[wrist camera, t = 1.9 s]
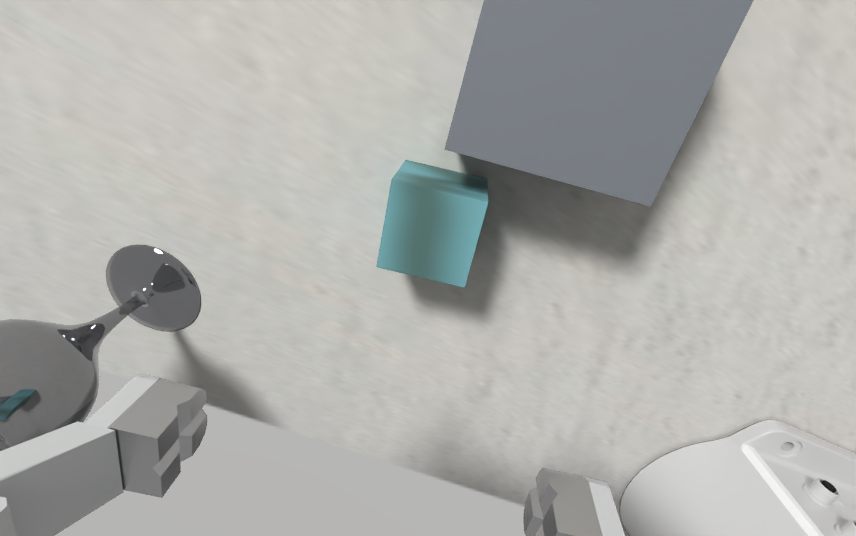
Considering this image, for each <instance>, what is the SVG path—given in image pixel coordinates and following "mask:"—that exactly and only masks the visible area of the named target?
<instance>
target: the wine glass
mask: <svg viewBox="0 0 856 536" xmlns="http://www.w3.org/2000/svg"><path fill="white" fill-rule="evenodd" d="M106 280H107V285H108V288H109V291H110V293H111V295H112V297H113V299H114V300H115V302H116V303H117V305H118V306H119V307H118V308H116V309H114V310H113V311H111V312H109V313H107V314H105V315H103V316H101V317H99V318H97V319H95V320H92V321H90V322H87V323H83V324H77V325H63V324H56V323H49V322H43V321H36V320H21V319H9V320H0V451H2V450H5V449H8V448H10V447H13V446H15V445H18V444H21V443H23V442H26V441H28V440H31V439H33V438H36V437H39V436H41V435H44V434H46V433H49V432H52V431H54V430H57V429H59V428H62V427H64V426H67V425H70V424H72V423H75V422H77V421H78V422H83V421H84V420H85V418H86V417H87V415H88V414H89V412H90V411H91V409H92V407H93V405H94V403H95V400H96V397H97V393H98V386H99V364H98V354H99V348H100V346H101V343H102V341H103V340H104V338H105V337H106V336H107V335H108V334H109V333H110V332H111V330H112V329H113V328H114V327H115V326H117V325H118V324H119V323H120V322H121V321H122V320H123V319H124V318H125V317H127V316H129V317H131V318H132V319H134V320H135V321H137V322H138V323H140V324H142V325H144V326H146V327H149V328H152V329H156V330H160V331H175V330H179V329H183V328H185V327H186V326H188V325H190V324H191V323H192V322H193V321H194V320H195V319H196V317H197V315H198V313H199V311H200V305H201V297H200V292H199V288H198V286H197V284H196V281H195V280H194V278H193V276H192V275H191V273H190V272H189V271H188V269H187V268H186V267H185V266H184V265H183V264H182V263H181V262H180V261H179V260H177V259H176V258H175V257H173V256H172V255H170V254H168V253H167V252H165V251H163V250H160V249H158V248H155V247H151V246H147V245H131V246H127V247H124V248H122V249H120V250H118V251H117V252H116V253H115V254H114V255H113V256H112V257H111V259H110V260H109V262H108V265H107V269H106Z"/></svg>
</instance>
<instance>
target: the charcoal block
mask: <svg viewBox="0 0 856 536" xmlns="http://www.w3.org/2000/svg"><path fill="white" fill-rule="evenodd" d="M752 2H753V0H484V2H483V6H482V10H481V14H480V18H479V21H478V25H477V29H476V33H475V36H474V40H473V44H472V48H471V52H470V55H469V59H468V63H467V67H466V71H465V74H464V78H463V82H462V86H461V89H460V93H459V97H458V101H457V105H456V108H455V112H454V116H453V120H452V123H451V127H450V131H449V135H448V139H447V142H446V146H445V150H448V151H452V152H456V153H459V154H463V155H466V156H470V157H474V158H477V159H481V160H484V161H488V162H492V163H495V164H499V165H502V166H506V167H510V168H513V169H517V170H520V171H524V172H528V173H531V174H535V175H538V176H542V177H546V178H549V179H553V180H557V181H560V182H564V183H567V184H571V185H575V186H578V187H582V188H585V189H589V190H593V191H596V192H600V193H603V194H607V195H611V196H614V197H618V198H621V199H625V200H629V201H632V202H636V203H639V204H643V205H647V206H650V207H651V205H652V203H653V201H654V199H655V197H656V195H657V193H658V191H659V189H660V187H661V185H662V183H663V181H664V179H665V177H666V175H667V173H668V171H669V169H670V167H671V165H672V163H673V161H674V159H675V157H676V155H677V153H678V151H679V149H680V147H681V145H682V143H683V141H684V139H685V137H686V135H687V133H688V131H689V129H690V127H691V125H692V123H693V121H694V119H695V117H696V115H697V113H698V111H699V109H700V107H701V105H702V103H703V101H704V99H705V97H706V95H707V93H708V91H709V89H710V87H711V85H712V83H713V81H714V79H715V77H716V75H717V73H718V71H719V69H720V67H721V65H722V63H723V61H724V59H725V57H726V55H727V53H728V51H729V49H730V47H731V45H732V43H733V41H734V39H735V37H736V35H737V33H738V31H739V28H740V26H741V24H742V22H743V20H744V18H745V16H746V14H747V12H748V10H749V8H750V6H751V4H752Z"/></svg>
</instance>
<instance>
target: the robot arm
mask: <svg viewBox="0 0 856 536" xmlns="http://www.w3.org/2000/svg"><path fill="white" fill-rule="evenodd" d="M206 402H207V394H206V390H204V389H201V388H198V387H194V386H190V385H186V384H182V383H178V382H175V381H171V380H167V379H162V378H158V377H154V376H150V375H146V374H140V375H137V376H135V377H133V378H132V379H131V380H130V381H129V382H128V383H127V384H126V385H125V386H124V387H123V388H122V389H121V390H119V392H117V393H116V394H115V395H114V396H113V397H112V398H111V399H110V400H108V401H107V402H106V403H105V404H104V405H103V406H102V407H101V408H100V409H99V410H98V411H97V412H95V413H94V414H93V415H92V416H91V417H90V418H89V419H88V420H87V421H86V422H84V423H83V422H78V421H77V422H75V423H72V424H70V425H67V426H64V427H62V428H59V429H57V430H54V431H52V432H49V433H46V434H44V435H41V436H39V437H36V438H33V439H31V440H28V441H26V442H23V443H21V444H18V445H15V446H13V447H10V448H8V449H5V450H2V451H0V536H54V535H56V534H58V533H59V532H61V531H62V530H64V529H65V528H67V527H69V526H70V525H72V524H73V523H75V522H76V521H78V520H80V519H81V518H83V517H85V516H86V515H88V514H89V513H91V512H92V511H94V510H95V509H97V508H99V507H100V506H102V505H104V504H105V503H107V502H108V501H110V500H112V499H113V498H115V497H116V496H118V495H120V494H121V493H123V490H127V491H132V492H137V493H142V494H146V495H151V496H156V497H161V498H162V497H163V496H164V494H165V493H166V491H167V490H168V489H169V487H170V486H171V484H172V483H173V482H174V480H175V479H176V478H177V476H178V475H179V473H180V472H181V471H180V462H181V461H183V460H185V459H187V458H189V457H191V456H192V455H193V454H194V452H195V451H196V450H197V448H198V447H199V445H200V443H201V441H202V438H203V436H204V434H205V430H206V426H207V415H206V413H205V412H204V411H203V409H202V407H203V406H204V405H205V403H206ZM536 482H537V487H536V488H534V489H532V490H531V491H530V492H529V495H528V497H527V499H526V503H525V509H524V531H525V534H526V536H625V534H624V530H623V527H622V524H621V521H620V518H619V515H618V512H617V509H616V506H615V503H614V500H613V497H612V494H611V491H610V487H609V485H608V484H607V483H606V482H605V481H600V480H596V479H591V478H587V477H582V476H578V475H574V474H569V473H565V472H560V471H556V470H551V469H547V468H542V469H541V470H540V471H539V473H538V475H537V477H536ZM620 514H621V520H622V523H623V525H624V527H625V529H626V531H627V532H628V534H629V535H630V536H856V454H855V453H853V452H851V451H848V450H846V449H844V448H841V447H839V446H837V445H834V444H832V443H830V442H827V441H825V440H823V439H820V438H818V437H816V436H813V435H811V434H808V433H806V432H804V431H801V430H799V429H797V428H794V427H792V426H790V425H787V424H785V423H783V422H780V421H777V420H766V421H762V422H759V423H756V424H754V425H751V426H749V427H747V428H745V429H743V430H741V431H739V432H737V433H735V434H733V435H731V436H729V437H726V438H722V439H718V440H713V441H708V442H703V443H698V444H694V445H690V446H687V447H683V448H681V449H678V450H675V451H673V452H670V453H668V454H666V455H664V456H662V457H660V458H658V459H657V460H655V461H653V462H652V463H650V464H649V465H648V466H646V467H645V468H644V469H642V470H641V471H640V472H639V473H638V474H637V475H636V476H635V477H634V478H633V480H632V481H631V482H630V483H629V485H628V486H627V488H626V490H625V492H624V494H623V497H622V500H621V506H620Z"/></svg>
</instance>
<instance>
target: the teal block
mask: <svg viewBox="0 0 856 536" xmlns="http://www.w3.org/2000/svg"><path fill="white" fill-rule="evenodd" d="M487 206H488V190H487V179H485V178H481V177H477V176H473V175H468V174H464V173H460V172H455V171H451V170H447V169H442V168H438V167H434V166H429V165H425V164H421V163H417V162H412V161H408V160H405V162H404V163H403V165H402V166H401V167H400V169H399V170H398V172H397V173H396V174H395V176H394V177H393V178H392V180H391V186H390V192H389V198H388V203H387V209H386V215H385V221H384V226H383V232H382V238H381V243H380V249H379V255H378V261H377V266H376V267H378V268H382V269H387V270H391V271H395V272H399V273H404V274H408V275H412V276H417V277H421V278H425V279H430V280H434V281H438V282H442V283H447V284H451V285H455V286H460V287H464V288H465V285H466V281H467V277H468V274H469V270H470V267H471V263H472V260H473V256H474V252H475V249H476V245H477V242H478V238H479V234H480V231H481V227H482V224H483V220H484V216H485V213H486V209H487Z"/></svg>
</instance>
